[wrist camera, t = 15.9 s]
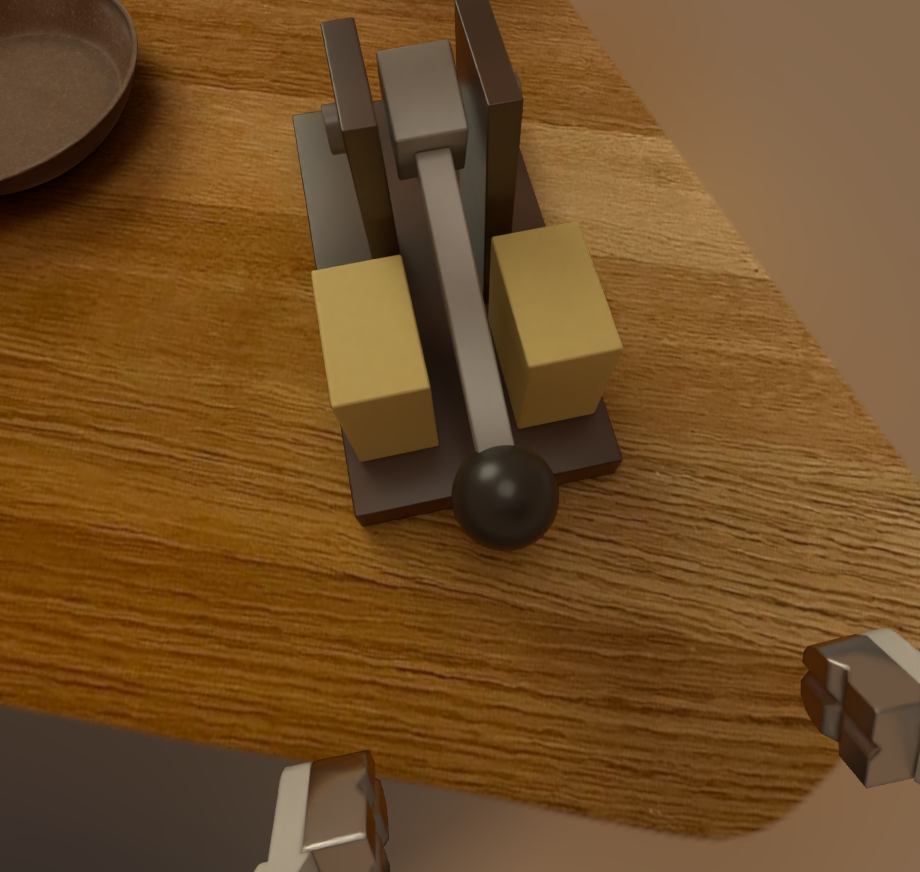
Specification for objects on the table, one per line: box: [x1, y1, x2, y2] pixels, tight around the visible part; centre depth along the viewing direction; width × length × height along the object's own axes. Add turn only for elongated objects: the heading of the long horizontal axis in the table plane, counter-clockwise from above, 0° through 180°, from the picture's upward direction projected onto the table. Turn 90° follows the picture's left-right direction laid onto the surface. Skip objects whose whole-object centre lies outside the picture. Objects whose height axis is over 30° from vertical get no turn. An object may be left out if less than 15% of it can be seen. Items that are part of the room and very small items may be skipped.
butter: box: [311, 221, 623, 462], centre depth 22 cm, size 9×5×5 cm, turn 102°
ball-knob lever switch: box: [376, 39, 559, 551], centre depth 19 cm, size 15×3×3 cm, turn 12°
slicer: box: [293, 0, 623, 526], centre depth 22 cm, size 20×10×11 cm, turn 12°
